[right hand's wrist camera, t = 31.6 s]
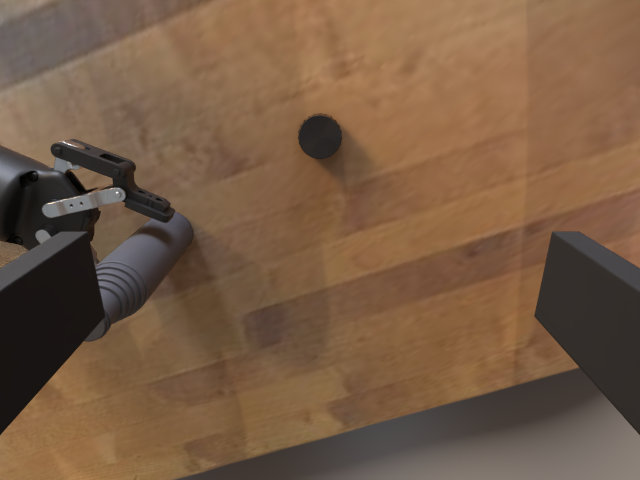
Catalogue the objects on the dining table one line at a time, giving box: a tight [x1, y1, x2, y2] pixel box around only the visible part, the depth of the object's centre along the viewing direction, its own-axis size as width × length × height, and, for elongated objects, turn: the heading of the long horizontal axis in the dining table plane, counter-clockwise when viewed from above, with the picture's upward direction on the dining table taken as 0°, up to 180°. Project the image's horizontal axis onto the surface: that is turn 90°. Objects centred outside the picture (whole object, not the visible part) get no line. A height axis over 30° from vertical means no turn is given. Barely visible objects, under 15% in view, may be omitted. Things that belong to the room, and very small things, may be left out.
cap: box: [298, 113, 342, 159], centre depth 41 cm, size 4×4×2 cm
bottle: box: [84, 212, 193, 341], centre depth 37 cm, size 5×5×18 cm
